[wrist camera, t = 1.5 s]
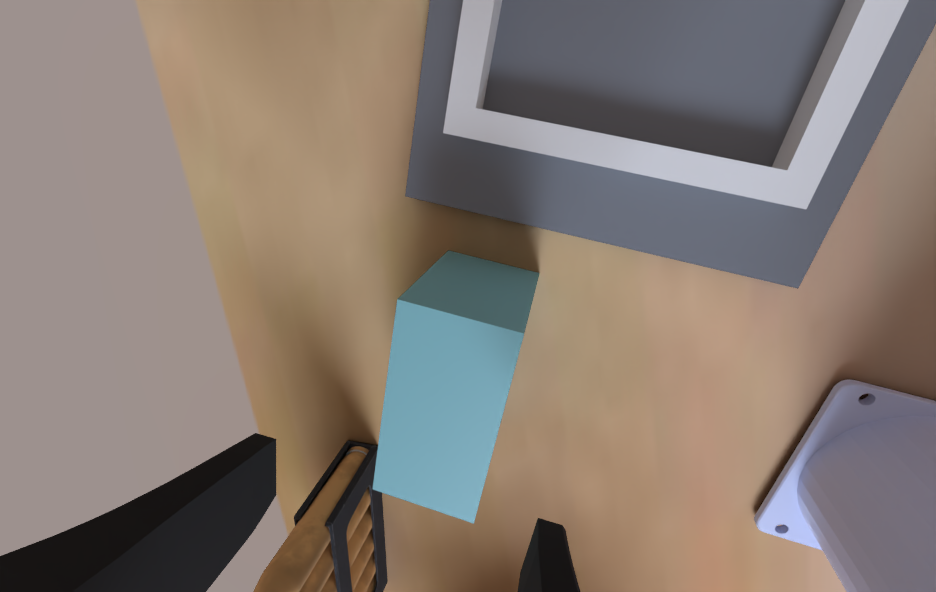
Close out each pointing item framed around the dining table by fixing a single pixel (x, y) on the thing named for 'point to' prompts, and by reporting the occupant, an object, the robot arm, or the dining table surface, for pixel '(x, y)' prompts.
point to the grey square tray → (662, 118)
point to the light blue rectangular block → (450, 381)
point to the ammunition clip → (335, 532)
